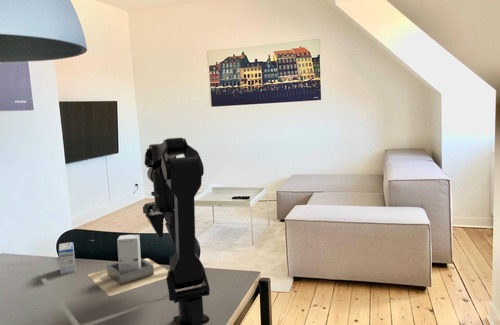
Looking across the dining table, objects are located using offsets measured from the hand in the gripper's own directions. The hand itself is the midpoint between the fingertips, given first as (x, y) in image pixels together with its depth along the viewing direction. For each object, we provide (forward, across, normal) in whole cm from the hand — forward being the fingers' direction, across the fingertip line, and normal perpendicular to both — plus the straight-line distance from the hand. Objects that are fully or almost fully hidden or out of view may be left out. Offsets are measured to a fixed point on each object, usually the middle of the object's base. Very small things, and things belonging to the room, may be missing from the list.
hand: (168, 241), depth 114 cm
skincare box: (+12, +13, +7) cm, 19 cm away
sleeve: (+12, +13, +7) cm, 19 cm away
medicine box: (+13, +33, +20) cm, 41 cm away
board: (+13, +13, +7) cm, 20 cm away
